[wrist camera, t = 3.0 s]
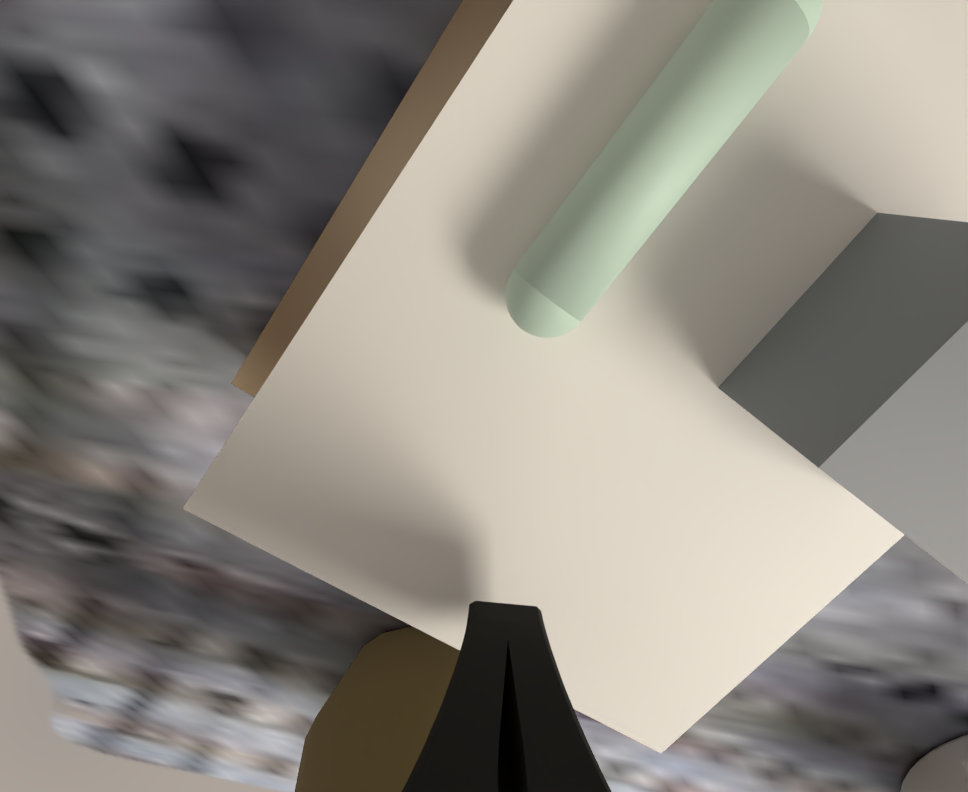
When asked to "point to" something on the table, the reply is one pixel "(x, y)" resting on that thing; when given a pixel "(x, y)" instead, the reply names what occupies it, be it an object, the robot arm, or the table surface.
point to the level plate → (641, 344)
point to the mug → (940, 769)
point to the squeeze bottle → (378, 715)
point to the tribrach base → (374, 180)
